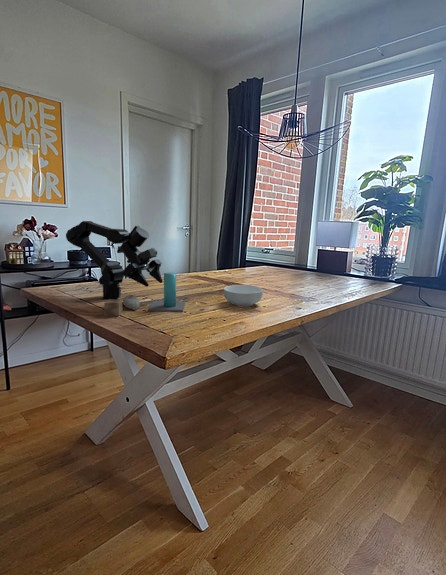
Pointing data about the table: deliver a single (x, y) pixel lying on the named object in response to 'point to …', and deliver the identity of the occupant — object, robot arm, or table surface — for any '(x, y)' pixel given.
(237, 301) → the cereal bowl
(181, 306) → the charcoal mat
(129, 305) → the decorative stone
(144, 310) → the table surface
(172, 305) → the teal tall cylinder
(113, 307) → the walnut block
